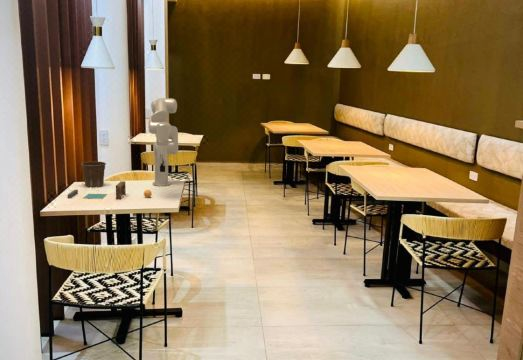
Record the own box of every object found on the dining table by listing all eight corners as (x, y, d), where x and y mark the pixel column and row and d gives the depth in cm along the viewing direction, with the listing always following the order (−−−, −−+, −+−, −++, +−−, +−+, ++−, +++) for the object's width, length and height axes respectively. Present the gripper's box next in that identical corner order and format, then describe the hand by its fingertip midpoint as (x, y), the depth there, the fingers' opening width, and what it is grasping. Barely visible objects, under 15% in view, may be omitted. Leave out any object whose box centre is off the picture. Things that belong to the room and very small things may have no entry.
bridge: (115, 199, 307) (115, 185, 305) (120, 194, 320) (120, 181, 319) (120, 199, 307) (120, 185, 305) (125, 194, 321) (125, 181, 319)
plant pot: (105, 188, 336) (104, 165, 333) (80, 188, 333) (79, 165, 330) (107, 183, 352) (107, 161, 349) (83, 183, 349) (83, 161, 345)
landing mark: (88, 194, 318) (88, 193, 318) (107, 194, 319) (107, 194, 319) (83, 198, 306) (83, 197, 306) (102, 198, 307) (102, 198, 307)
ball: (144, 196, 317) (144, 188, 316) (152, 196, 317) (152, 189, 316) (143, 198, 312) (143, 190, 311) (151, 198, 312) (151, 190, 311)
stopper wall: (74, 193, 318) (74, 189, 318) (78, 193, 319) (77, 189, 318) (67, 198, 305) (67, 194, 304) (71, 198, 305) (70, 194, 304)
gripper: (158, 141, 316) (158, 169, 319) (154, 144, 301) (154, 173, 304) (169, 141, 316) (170, 169, 320) (166, 144, 301) (167, 174, 305)
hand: (162, 171), depth 312 cm, fingers closed
